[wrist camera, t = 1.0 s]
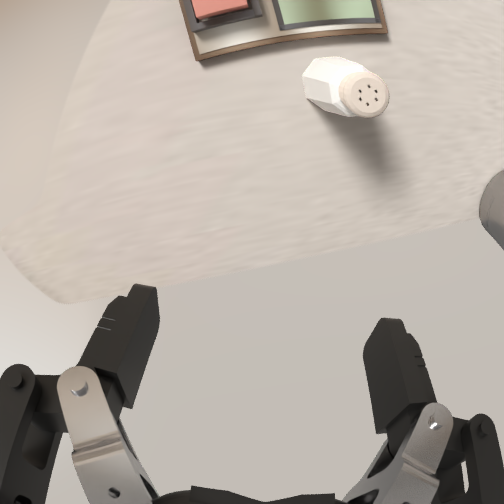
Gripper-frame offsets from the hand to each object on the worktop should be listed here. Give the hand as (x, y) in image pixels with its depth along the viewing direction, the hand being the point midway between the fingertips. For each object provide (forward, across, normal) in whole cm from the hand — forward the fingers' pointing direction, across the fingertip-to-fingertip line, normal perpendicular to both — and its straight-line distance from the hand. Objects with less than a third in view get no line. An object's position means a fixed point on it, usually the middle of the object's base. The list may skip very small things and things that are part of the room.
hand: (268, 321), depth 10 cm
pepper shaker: (+21, -4, -8) cm, 23 cm away
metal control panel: (+21, +2, -16) cm, 26 cm away
